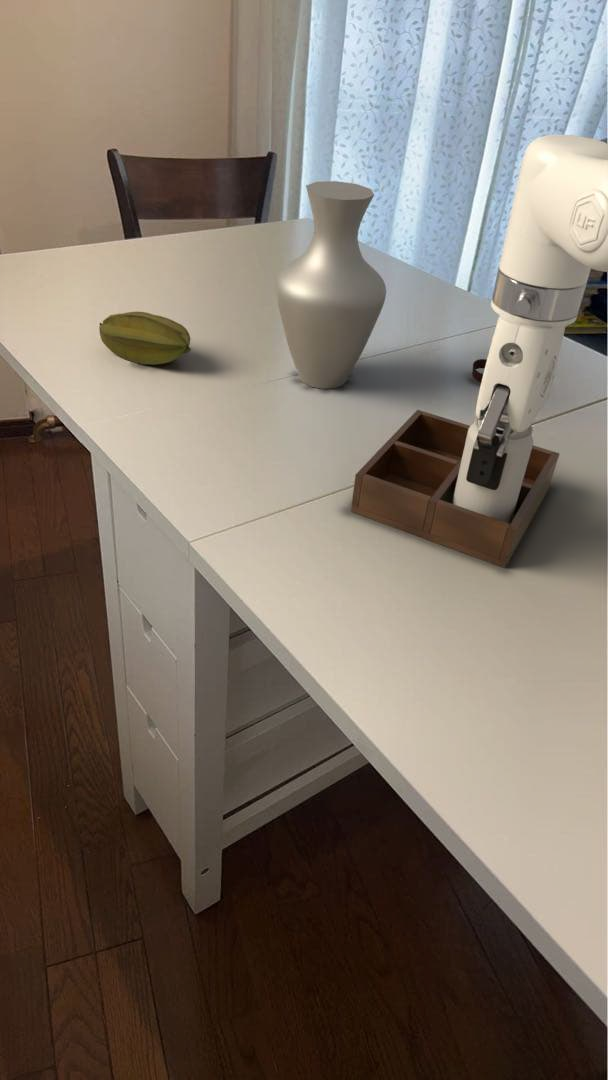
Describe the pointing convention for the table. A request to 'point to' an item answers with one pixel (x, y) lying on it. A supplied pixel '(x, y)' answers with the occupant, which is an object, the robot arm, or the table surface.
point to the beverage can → (506, 495)
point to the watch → (477, 365)
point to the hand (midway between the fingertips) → (493, 467)
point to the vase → (330, 289)
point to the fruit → (144, 337)
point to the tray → (443, 490)
